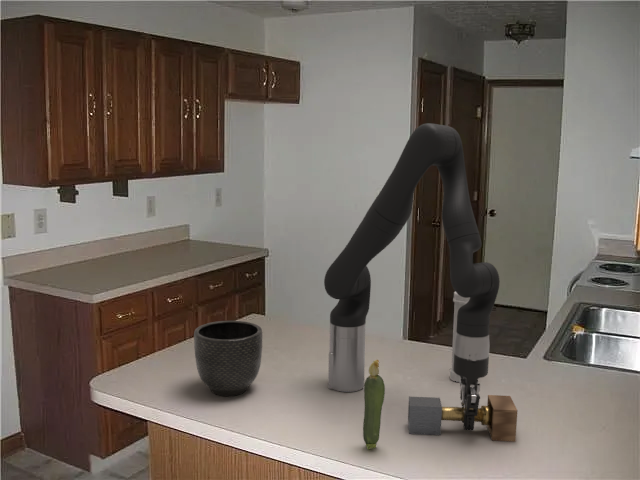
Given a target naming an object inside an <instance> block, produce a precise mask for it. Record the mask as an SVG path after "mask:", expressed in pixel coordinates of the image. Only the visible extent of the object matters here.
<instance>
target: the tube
mask: <svg viewBox="0 0 640 480" xmlns="http://www.w3.org/2000/svg"><path fill="white" fill-rule="evenodd" d="M441 421H447V422H448V421H449V422H452V421H453V422H462V421H464V407H462V406H461V407H460V406H458V407H457V406H442V418H441ZM474 423H480V424H481V426H487V425H492V407H491V406H487V405H480V407H478V414H477V416H475V419H474Z"/></svg>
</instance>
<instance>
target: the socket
mask: <svg viewBox="0 0 640 480" xmlns="http://www.w3.org/2000/svg"><path fill="white" fill-rule="evenodd" d="M486 406H491V407H492V425H486V428H487V430H488V433H489V435H490V439H491V441H493V442H494V441H496V442H497V441H498V442H515V443H516V441H517V440H516V437H517V424H518V423H517V421H518V409H517V407H516V405H515V403H514V400H513V398H512V396H510V395H501V394H500V395H497V394H496V395H495V394H488V395H487V405H486Z"/></svg>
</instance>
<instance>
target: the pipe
mask: <svg viewBox="0 0 640 480" xmlns="http://www.w3.org/2000/svg"><path fill="white" fill-rule="evenodd" d="M469 299H470V298H464V297H461V296H460V295H458V294H457V293H456V291H455V290H454V292H453V298H452V302H453V303H454V305H453V306H454V309H453V310H454V311H453V312H454V313H453V327H452V328H453V329H452V330H453V332H452V348H451V351H452V352H451V367H450V369H449V378H450V380H451V381H453V382H455V381H456V382H455V383H460V379H461V377H460V376H459V375H457V374H456V373H455V372H454V370H453V366H454V346H455V337H456V330H457V313H458V310H459V308H460V307H462V306H463V305H465V304H466V303H468V301H469Z"/></svg>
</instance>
